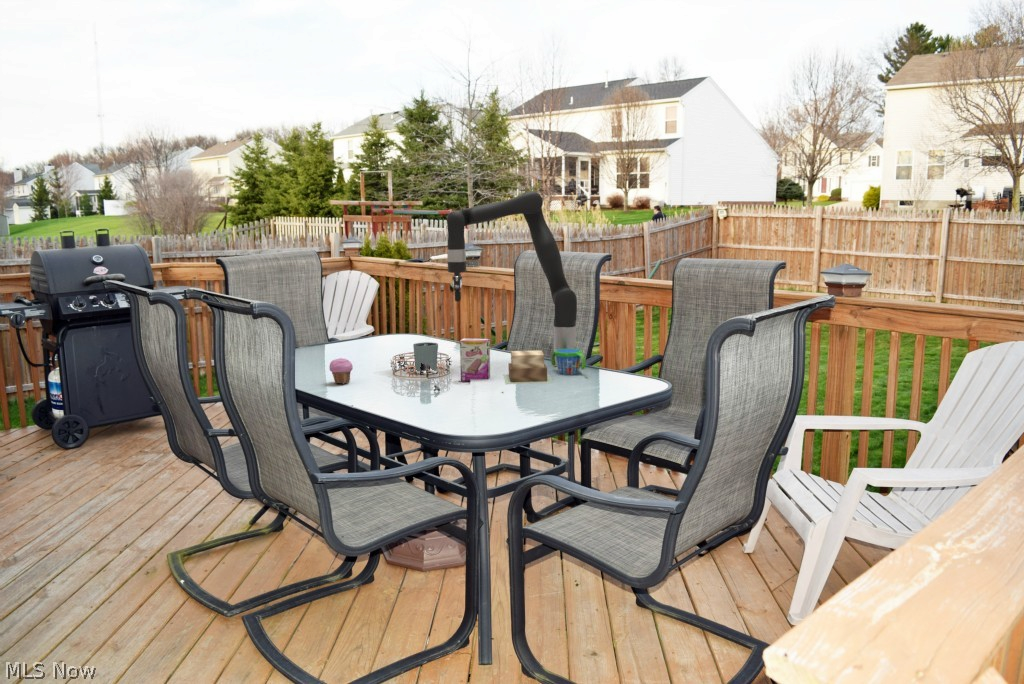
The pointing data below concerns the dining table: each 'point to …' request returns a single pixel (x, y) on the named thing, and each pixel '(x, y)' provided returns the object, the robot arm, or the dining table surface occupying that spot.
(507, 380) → the sage mat
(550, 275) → the robot arm
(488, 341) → the candy bar box
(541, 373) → the walnut block
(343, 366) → the cupcake
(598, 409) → the dining table surface
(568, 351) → the snack cup
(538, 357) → the maple block
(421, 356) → the grey green cup
